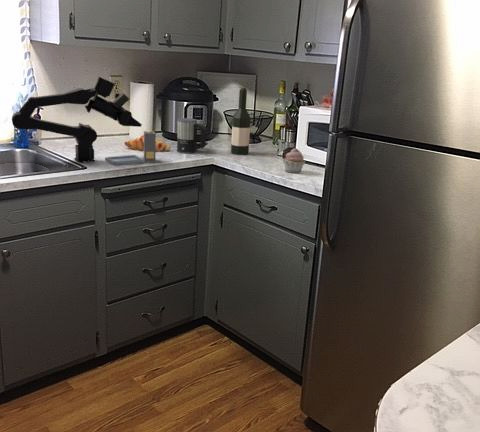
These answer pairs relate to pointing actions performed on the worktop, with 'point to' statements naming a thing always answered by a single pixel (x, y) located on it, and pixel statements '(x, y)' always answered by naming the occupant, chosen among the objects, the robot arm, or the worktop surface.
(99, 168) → the worktop surface
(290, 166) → the cupcake
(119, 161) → the tray
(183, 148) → the milk frother
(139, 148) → the croissant
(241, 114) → the wine bottle
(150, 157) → the caddy
